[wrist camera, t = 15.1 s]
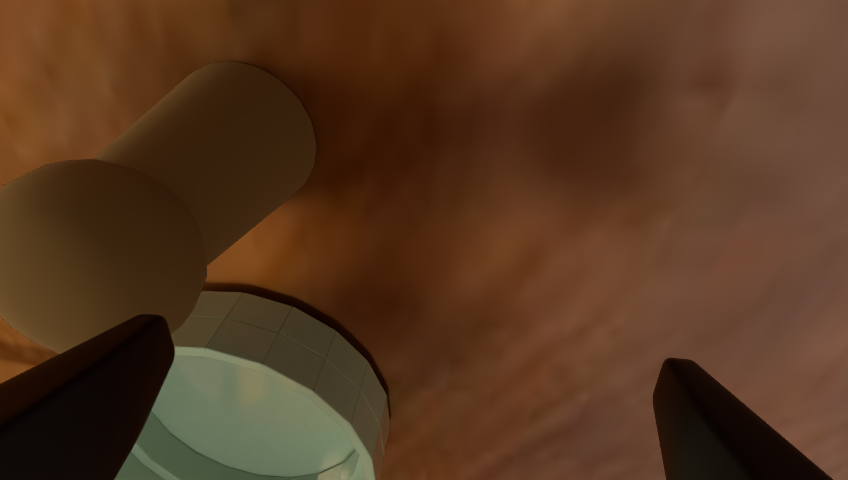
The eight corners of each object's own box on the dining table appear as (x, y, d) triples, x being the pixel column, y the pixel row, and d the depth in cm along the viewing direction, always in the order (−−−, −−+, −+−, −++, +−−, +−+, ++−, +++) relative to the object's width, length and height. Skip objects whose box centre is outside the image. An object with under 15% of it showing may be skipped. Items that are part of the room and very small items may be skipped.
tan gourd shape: (345, 131, 21) (223, 302, 11) (269, 229, 23) (120, 432, 14) (211, 25, 19) (-58, 120, 10) (147, 144, 22) (-112, 306, 12)
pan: (67, 319, 28) (-2, 382, 24) (316, 250, 24) (282, 313, 20) (216, 492, 34) (181, 564, 31) (429, 461, 30) (421, 539, 27)
